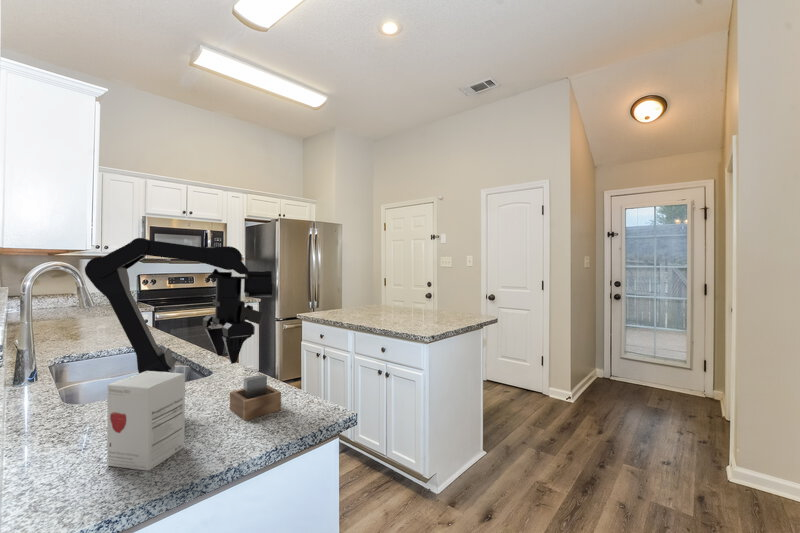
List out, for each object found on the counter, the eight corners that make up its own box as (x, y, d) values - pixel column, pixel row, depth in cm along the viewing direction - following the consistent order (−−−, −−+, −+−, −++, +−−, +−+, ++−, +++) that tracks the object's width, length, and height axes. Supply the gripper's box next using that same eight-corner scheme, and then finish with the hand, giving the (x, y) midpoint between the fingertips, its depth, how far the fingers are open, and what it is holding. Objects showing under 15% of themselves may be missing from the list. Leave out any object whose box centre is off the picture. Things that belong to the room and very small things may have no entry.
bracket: (249, 416, 89) (249, 382, 89) (241, 409, 92) (241, 377, 92) (269, 410, 92) (269, 377, 92) (260, 404, 96) (260, 373, 96)
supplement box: (104, 466, 66) (104, 384, 66) (146, 442, 75) (146, 369, 75) (148, 472, 65) (148, 387, 65) (186, 447, 74) (186, 372, 73)
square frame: (244, 421, 86) (244, 401, 86) (229, 409, 92) (229, 391, 92) (280, 410, 92) (280, 392, 92) (264, 400, 98) (264, 383, 98)
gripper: (276, 298, 91) (274, 362, 91) (245, 293, 104) (244, 348, 105) (229, 300, 83) (227, 370, 83) (203, 294, 97) (201, 353, 97)
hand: (226, 359), depth 92 cm, fingers open, 9 cm apart
